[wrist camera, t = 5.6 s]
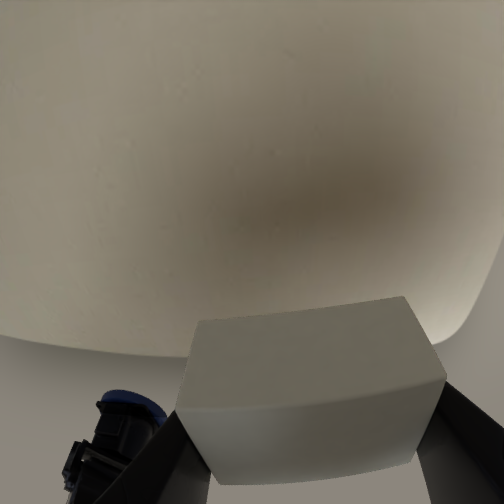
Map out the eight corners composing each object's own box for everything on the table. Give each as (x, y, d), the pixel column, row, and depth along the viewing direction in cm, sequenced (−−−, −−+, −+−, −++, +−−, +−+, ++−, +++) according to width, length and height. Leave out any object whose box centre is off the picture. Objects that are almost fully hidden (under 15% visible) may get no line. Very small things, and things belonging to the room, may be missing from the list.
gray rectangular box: (388, 390, 10) (410, 463, 7) (227, 409, 10) (218, 485, 7) (403, 294, 8) (449, 375, 5) (197, 319, 8) (172, 409, 6)
